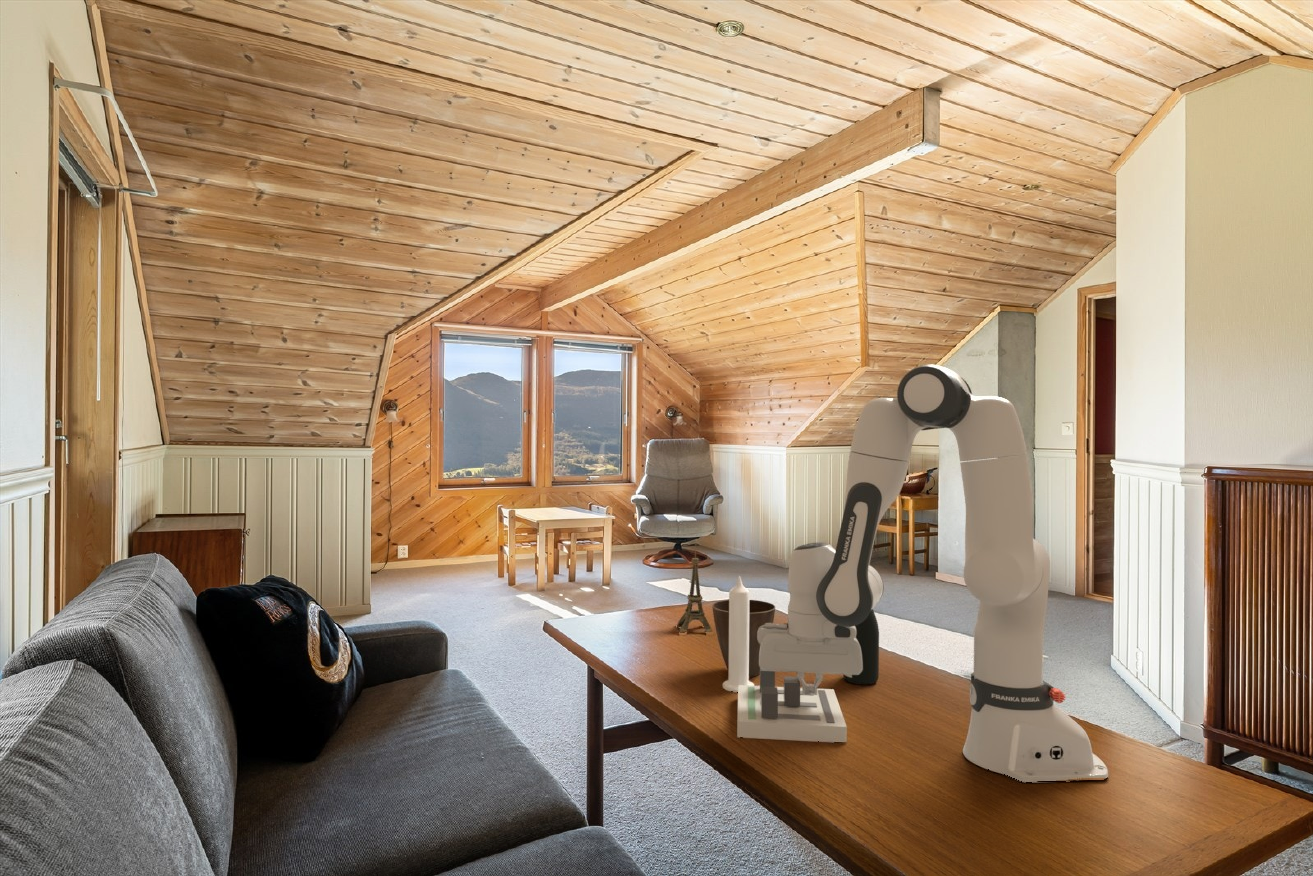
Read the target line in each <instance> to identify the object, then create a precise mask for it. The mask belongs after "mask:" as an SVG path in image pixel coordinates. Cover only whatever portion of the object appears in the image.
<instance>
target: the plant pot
mask: <svg viewBox="0 0 1313 876" xmlns="http://www.w3.org/2000/svg"><path fill="white" fill-rule="evenodd" d="M775 612H776V605H774V604H773V603H771V602H767V601H763V600H756V599H749V678H753V677H756V676H758V675H760V666H759V651H760V644H759V642H758V640H757V631H758V629H759V627H760V626H762V625H765V623H774V622H775V621H774V620H775V615H776V614H775ZM712 615H713V621H714V627H715V628H714V629H715V632H716V633H715V634H716V637H717V640H718V645H719V648H720V651H721V655H722V657H723V662H724V664H725V666H726V670H727V672H728V673H729V599H724V600H720V601H716V602H713V604H712ZM763 628H765V627H763Z"/></svg>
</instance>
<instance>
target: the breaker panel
mask: <svg viewBox="0 0 1313 876" xmlns="http://www.w3.org/2000/svg"><path fill="white" fill-rule="evenodd" d="M776 687H777V691H778V718H773V717H762V715H761V692H760V685H754V686H749V685H738V693H737V729H736V732H737V733H736V734H737V735H736V737H737V738H740V737H743V739H763V740H781V741H782V740H783V741H800V742H818V741H819V742H820V743H834V742H847V739H848V738H847V737H848V735H847V734H848V730H847V729H848V726H847V724H846V723H847V722H846V721H845V717H844V715H843V712H842V709H841V707H840V704H839V701H838V698H837V695H836V693H835V688H834V689H833V688H832V689H831V688H817V695H804V694H803V693H802V687H800V706H792V705H785V704H784V686H776ZM819 742H818V743H819ZM847 743H848V742H847Z"/></svg>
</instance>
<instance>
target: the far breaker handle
mask: <svg viewBox="0 0 1313 876" xmlns="http://www.w3.org/2000/svg"><path fill="white" fill-rule="evenodd" d="M759 686H760V692H761V687H776V671H763V670H762V669H761V668H760V673H759Z"/></svg>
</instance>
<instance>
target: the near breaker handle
mask: <svg viewBox="0 0 1313 876" xmlns="http://www.w3.org/2000/svg"><path fill="white" fill-rule="evenodd" d="M777 687H778V686H775V687H761V715H762V717H773V718H778V691H777Z"/></svg>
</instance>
